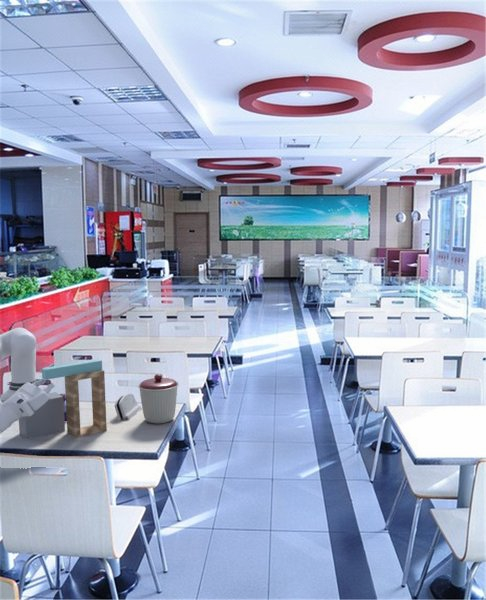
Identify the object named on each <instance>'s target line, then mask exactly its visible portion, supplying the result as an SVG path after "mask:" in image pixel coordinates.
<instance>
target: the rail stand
mask: <svg viewBox="0 0 486 600" xmlns="http://www.w3.org/2000/svg"><path fill="white" fill-rule="evenodd" d="M105 376H106V375H105V370H103V369H102V370H99V371H94V372H88V373H82V374H76V375H71V376H65V377H64V389H65V391H64V392H65V393H64V394H65V396H66V401H65V403H66V415H67V421H66V431H67V434H68V435H69V436H71V437H72V438H74V439H77V438H83V437H86V436H90V435H94V434H95V435H96V434H99V433H103V432H107V430H108V429H107V427H108V426H107V408H106V407H107V405H106V404H107V403H106V402H107V401H106V380H105ZM86 379H91V380H90V381H91V383H90V384H91V386H90V387H91V406H92V424H91V425H87V426H82V427H81V415H80V414H81V413H80V411H81V410H80V391H79V390H80V389H79V381H82V380H86Z"/></svg>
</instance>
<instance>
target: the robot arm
mask: <svg viewBox="0 0 486 600" xmlns="http://www.w3.org/2000/svg"><path fill="white" fill-rule="evenodd" d="M10 356H11V357H10ZM8 357H10V378H11V380H10V381H9V382H7V386H9V387H8V389H7V390H5V392H4V393H3V394H1V395H0V435H1V434H2V433H4V432H5V431H6V430H7V429H9V428H10V427H11V426H12V425H13V424H14V423H15V422H16V421H19V419H20V418H21V417H24V416H31V415H33V414H34V411H36V410H37V409H39V408H40V407H41V406H42V405H44V404H45V403H46V402H47V401H48V400H49V396H48V393H51V392H52V389H53V388H55V387H56V386H55V384H54V383H53V382H50V383H48V384H47V386H46V387H45V388H44V389H41V387H39V386H41V385H44V384H45V383H47V382H46V380H45V379H43V378H42V377H41V379H39V380H38V378H37V370H36V361H37V360H36V358H37V338H36V336H35V335H34V333H32V332H30V331H29V330H28V329H26V328H24V327H16V328H13V329H11V330H8V331H5V332H3V333H1V334H0V362H1V361H3V360H4V359H6V358H8Z"/></svg>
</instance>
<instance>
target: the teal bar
mask: <svg viewBox="0 0 486 600" xmlns="http://www.w3.org/2000/svg"><path fill="white" fill-rule="evenodd" d="M99 370H103V360H101V359H99V358H96V359H90V360H84V361H79V362H78V361H77V362H72V363H65V364H60V365H59V364H58V365H53V366H47V367H42V368H41V379H42V378H43V379H45V381H46V380H53V379H57V378H58V379H59V378H63V377H64V378H65V376H71V375H76V374H82V373H88V372H94V371H99Z"/></svg>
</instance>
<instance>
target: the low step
mask: <svg viewBox="0 0 486 600" xmlns="http://www.w3.org/2000/svg"><path fill="white" fill-rule="evenodd" d="M60 394H61V393H58V392H56V391H54V392H49V393H48V396H49V400H48V401H47V402H46V403H45V404H44V405H42V406H41V407H40V408H39V409H37V410H36V411H34V414H33V415H31V416H24V417H21V418H20V419H19V420H18V427H19V428H18V429H19V430H18V431H19V435H20V436H22V438H24V439H25V440H27V441H28V440H32V439H36V438H41V437H46V436H50V435H53V434H57V433H61V432H62V433H63V432H65V431H66V425H65V424H66V423H65V420H64V400H63V396H61V395H60Z"/></svg>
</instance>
